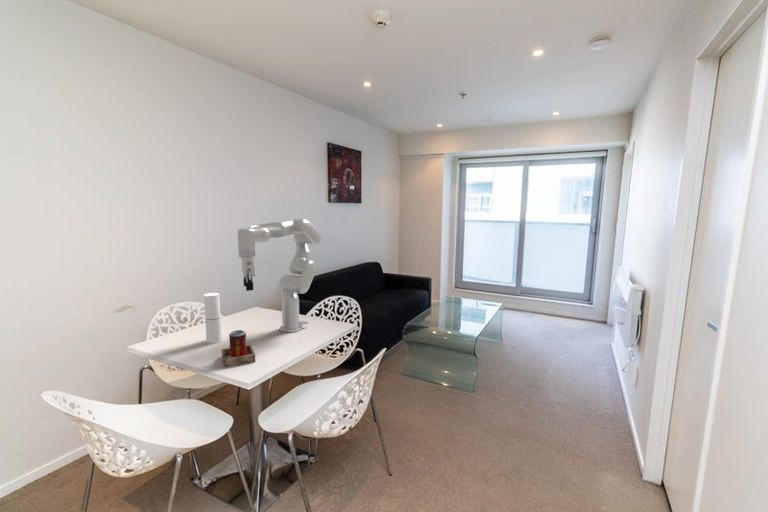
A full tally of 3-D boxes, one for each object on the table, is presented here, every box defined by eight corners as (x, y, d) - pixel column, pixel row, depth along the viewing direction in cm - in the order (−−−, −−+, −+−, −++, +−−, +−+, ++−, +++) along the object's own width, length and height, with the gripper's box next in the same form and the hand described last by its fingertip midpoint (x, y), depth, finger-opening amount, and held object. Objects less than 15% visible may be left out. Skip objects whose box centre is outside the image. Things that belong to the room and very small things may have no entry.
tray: (251, 351, 166) (251, 344, 166) (255, 361, 155) (255, 354, 154) (222, 356, 160) (221, 349, 160) (223, 367, 149) (223, 360, 148)
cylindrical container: (215, 343, 174) (212, 296, 171) (203, 342, 176) (200, 295, 172) (224, 338, 181) (222, 293, 178) (212, 337, 183) (210, 292, 179)
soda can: (244, 352, 163) (243, 328, 161) (248, 358, 157) (247, 332, 155) (229, 356, 159) (227, 331, 157) (232, 362, 153) (230, 336, 151)
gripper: (257, 255, 159) (259, 291, 161) (252, 251, 174) (254, 284, 176) (240, 256, 155) (242, 292, 158) (236, 252, 170) (238, 285, 173)
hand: (248, 288), depth 167 cm, fingers open, 9 cm apart
